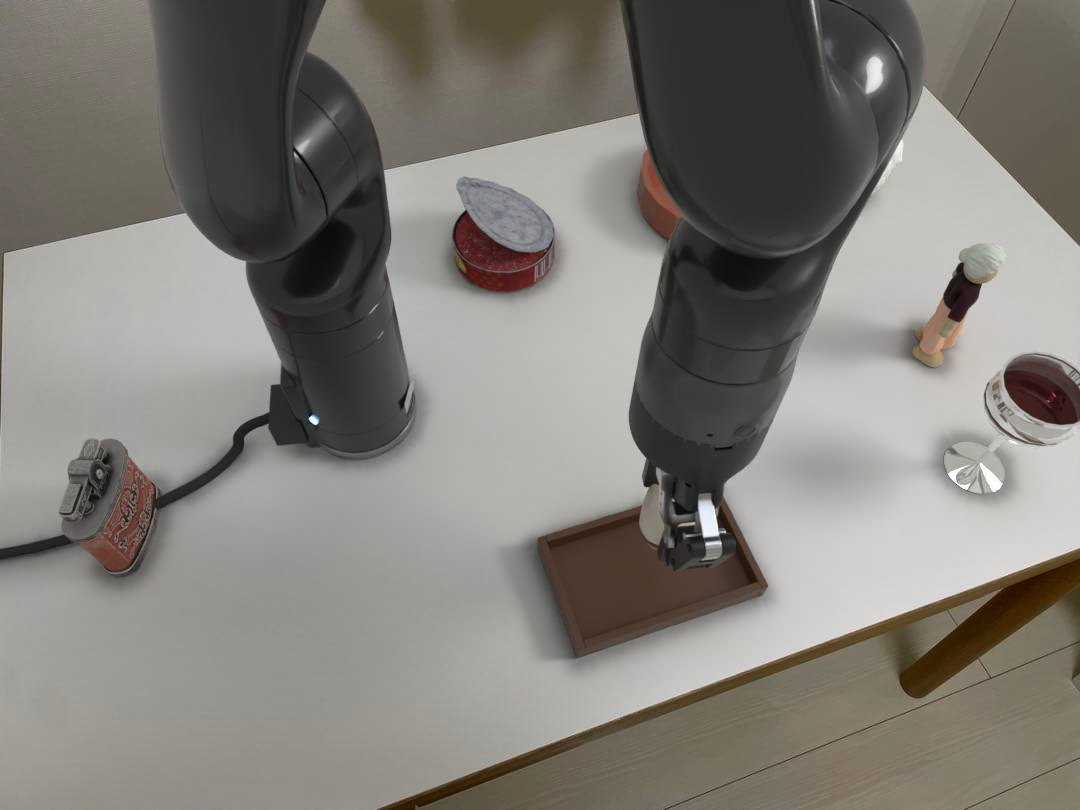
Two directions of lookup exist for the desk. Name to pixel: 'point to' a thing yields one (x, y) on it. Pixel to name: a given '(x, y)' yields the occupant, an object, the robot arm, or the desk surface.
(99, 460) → the lighter
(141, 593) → the desk surface
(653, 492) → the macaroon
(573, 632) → the tray
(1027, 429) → the wineglass
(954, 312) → the grandmother figurine
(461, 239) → the canned food
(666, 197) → the bowl
